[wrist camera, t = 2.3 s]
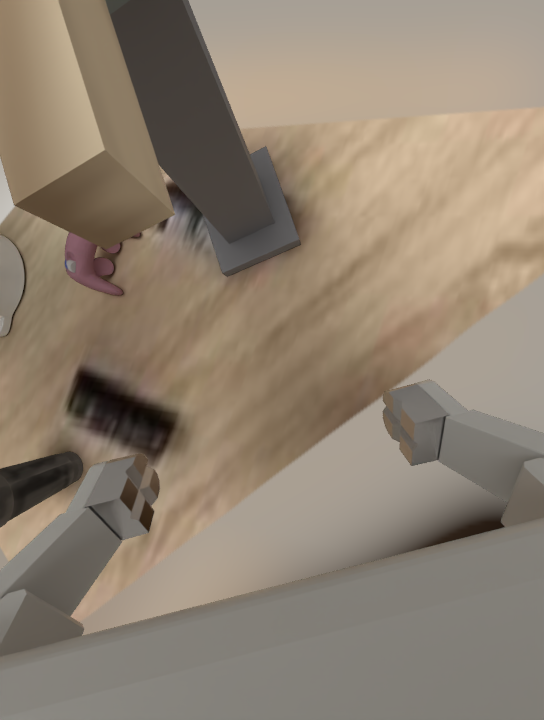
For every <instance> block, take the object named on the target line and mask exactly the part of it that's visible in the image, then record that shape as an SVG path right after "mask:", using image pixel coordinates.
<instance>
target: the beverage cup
mask: <svg viewBox="0 0 544 720" xmlns="http://www.w3.org/2000/svg"><path fill="white" fill-rule="evenodd" d="M82 472H83V465H82V461H81V459H80V458H79V456H78V455H77V454H75V453H74V452H65V453H61V454H55V455H51V456H48V457H44V458H40V459H36V460H32V461H28V462H25V463H21V464H17V465H13V466H9V467H5V468H2V469H0V527H2V526H3V525H5V524H6V523H7V522H8V521H9V520H11V519H13V518H14V517H16V516H18V515H20V514H21V513H23V512H25V511H26V510H28V509H30V508H32V507H33V506H35V505H37V504H38V503H40V502H42V501H44V500H45V499H47V498H49V497H50V496H52V495H54V494H56V493H57V492H59V491H61V490H62V489H64V488H66V487H67V486H69V485H70V484H72V483H73V482H75V481H77V480H78V479H79V478H80V477H81V475H82Z"/></svg>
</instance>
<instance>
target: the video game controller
mask: <svg viewBox="0 0 544 720" xmlns="http://www.w3.org/2000/svg"><path fill="white" fill-rule="evenodd" d="M134 236H135V237H139V236H140V233H138V234H136V235H134ZM97 246H98V245H96V244H94V243H92V242H89V241H87V240H85V239H83V238H81V237H79V236H77V235H75V234H73V233H71V232H69V234H68V237H67V241H66V246H65V267H66V271H67V274H68V275H69V276H70V277H71V278H72V279H74V280H75V281H76V282H78V283H80V284H82V285H84V286H86V287H89V288H91V289H94V290H97V291H101V292H104V293H108V294H112V295H122V294H123V291H122V290H121V289H120V288H118V287H117V286H115V285H113V284H111V283H109V282H107V281H105V280H103V279H101V278H100V276H102V275H110V274H111V273H112V272H113V270H114V267H113V264H112V262H111V261H110V260H108V259H106V258H94V256H95V252H96V248H97ZM101 248H102V247H101ZM102 249H103V250H105V251H106V252H109V253H116V252H118V251H119V249H120V243H118V244H116V245H114V246H112V247H110V248H108V249H104V248H102Z"/></svg>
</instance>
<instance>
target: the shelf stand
mask: <svg viewBox="0 0 544 720" xmlns="http://www.w3.org/2000/svg"><path fill="white" fill-rule="evenodd" d="M105 1H106V4H107V8H108V11H109V14H110V17H111V20H112V23H113V26H114V29H115V32H116V35H117V38H118V41H119V44H120V47H121V50H122V53H123V57H124V60H125V63H126V66H127V69H128V72H129V75H130V78H131V81H132V84H133V87H134V90H135V93H136V96H137V99H138V103H139V106H140V109H141V112H142V115H143V118H144V121H145V124H146V127H147V130H148V133H149V136H150V139H151V142H152V145H153V149H154V152H155V155H156V158H157V161H158V164H159V165H160V166H161V168H162V169H163V170H164V171H165V172H166V173H167V174H168V175H169V177H170V178H171V179H172V180H173V181H174V182H175V183H176V184H177V186H178V187H179V188H180V189H181V190H182V191H183V192H184V193H185V195H186V196H187V197H188V198H189V199H190V200H191V201H192V202H193V204H194V205H195V206H196V207H197V208H198V209H199V210H200V211H201V213H202V214H203V216H204V219H205V222H206V225H207V228H208V231H209V234H210V237H211V240H212V243H213V246H214V249H215V252H216V255H217V258H218V261H219V264H220V267H221V270H222V273H223V274H224V275H225V276H230V275H232V274H234V273H237V272H239V271H241V270H243V269H246V268H248V267H250V266H253V265H255V264H257V263H259V262H262V261H264V260H266V259H269V258H271V257H273V256H275V255H278V254H280V253H282V252H285V251H287V250H289V249H291V248H294V247H296V246H298V245H301V244H300V240H299V237H298V234H297V231H296V229H295V226H294V223H293V220H292V217H291V215H290V212H289V209H288V206H287V203H286V201H285V198H284V195H283V192H282V189H281V187H280V184H279V181H278V178H277V175H276V173H275V170H274V167H273V164H272V161H271V158H270V156H269V153H268V150H267V147H266V146H265V147H263V148H261V149H260V150H258V151H256V152H254V153H252V154H249V151H248V149H247V146H246V144H245V141H244V139H243V136H242V134H241V131H240V129H239V126H238V124H237V121H236V119H235V116H234V114H233V111H232V109H231V106H230V104H229V101H228V99H227V97H226V94H225V91H224V89H223V86H222V84H221V81H220V79H219V76H218V74H217V71H216V69H215V66H214V64H213V61H212V59H211V56H210V54H209V51H208V49H207V46H206V44H205V41H204V39H203V36H202V34H201V31H200V29H199V26H198V24H197V22H196V19H195V16H194V14H193V11H192V9H191V6H190V4H189V1H188V0H105Z"/></svg>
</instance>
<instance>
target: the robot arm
mask: <svg viewBox="0 0 544 720" xmlns="http://www.w3.org/2000/svg"><path fill="white" fill-rule="evenodd" d="M23 288H24V267H23V262H22V259H21V256H20V254H19V252H18V250H17V248H16V247H15V245H14V244H13V243H12V242H11V241H10V240H9V239H7V238H6V237H4V236H2V235H0V337H1V336H5V335H7V334H8V332H9V329H10V325H11V319H12V315H13V313H14V311H15V309H16V307H17V305H18V303H19V301H20V299H21V296H22V292H23ZM383 402H384V403H385V404H386V408H385V409H384V410H383V419H384V423H385V426H386V429H387V431H388V433H389V434H390V436H391V437H392V438H393V439H394V440H396V441H398V442H400V450H401V452H402V453H403V455H404V456H405V458H406V459H407V460H408V462H409V463H410V465H411V466H413V465H418V464H422V463H427V462H431V461H435V460H439V462H441V463H442V464H444V465H446V466H447V467H449V468H451V469H452V470H454V471H456V472H458V473H459V474H461V475H462V476H464V477H466V478H467V479H469V480H471V481H472V482H474V483H476V484H477V485H479V486H481V487H482V488H484V489H486V490H487V491H489V492H491V493H492V494H494V495H495V496H497V497H499V498H501V499H502V500H504V501H505V502H507V505H506V508H505V510H504V513H503V515H502V520H501V522H502V524H503V525H504V526H505V528H501V529H497V530H493V531H489V532H485V533H481V534H477V535H473V536H470V537H466V538H462V539H458V540H454V541H450V542H446V543H443V544H438V545H434V546H430V547H426V548H423V549H419V550H415V551H411V552H407V553H403V554H399V555H396V556H391V557H387V558H383V559H380V560H376V561H372V562H368V563H364V564H360V565H356V566H352V567H349V568H344V569H341V570H336V571H333V572H329V573H325V574H321V575H317V576H313V577H309V578H306V579H301V580H298V581H294V582H290V583H286V584H282V585H278V586H274V587H270V588H266V589H262V590H258V591H254V592H250V593H247V594H243V595H239V596H235V597H231V598H227V599H223V600H219V601H215V602H211V603H207V604H204V605H200V606H196V607H192V608H188V609H184V610H180V611H176V612H172V613H169V614H164V615H161V616H157V617H153V618H149V619H145V620H141V621H138V622H133V623H129V624H125V625H122V626H118V627H114V628H110V629H106V630H102V631H99V632H94V633H90V634H87V635H83V636H82V634H83V631H84V627H83V624H82V623H80V622H78V621H77V620H75V619H73V618H72V617H70V616H71V615H72V613H73V612H74V610H75V609H76V607H77V606H78V605H79V603H80V602H81V600H82V599H83V597H84V596H85V595H86V593H87V592H88V590H89V589H90V587H91V586H92V584H93V583H94V582H95V580H96V579H97V577H98V576H99V574H100V573H101V572H102V570H103V569H104V567H105V566H106V564H107V563H108V561H109V560H110V559H111V557H112V556H113V554H114V553H115V551H116V550H117V549H118V547H119V546H120V544H121V543H122V541H121V540H125V539H128V538H132V537H135V536H139V535H142V534H146V533H149V530H150V526H151V522H152V518H153V514H154V510H153V508H152V504H153V503H154V502H155V501H156V499H157V498H158V494H159V490H160V486H159V478H158V475H157V473H156V471H155V470H154V469H153V468H151V467H148V466H147V463H148V459H147V458H146V457H145V455H144V454H135V455H130V456H126V457H122V458H117V459H113V460H110V461H106V462H101V463H97V464H94V465H93V466H92V467H90V469H89V471H88V472H87V474H86V476H85V478H84V480H83V482H82V484H81V485H80V487H79V489H78V491H77V493H76V495H75V496H74V498H73V500H72V502H71V504H70V506H69V507H68V509H67V511H66V513H63V514H60V515H59V516H58V517H57V518H56V519H55V520H54V521H53V522H52V523H50V524H49V525H48V526H47V527H46V528H45V529H44V530H43V531H42V532H41V533H40V534H39V535H38V536H36V537H35V538H34V539H33V540H32V541H31V542H30V543H29V544H28V545H27V546H26V547H25V548H24V549H22V550H21V551H20V552H19V553H18V554H17V555H16V556H15V557H14V558H13V559H12V560H11V561H10V562H8V563H7V564H6V565H5V566H4V567H3V568H2V569H1V570H0V720H544V433H542V432H539V431H536V430H533V429H529V428H527V427H523V426H521V425H517V424H515V423H511V422H509V421H506V420H503V419H500V418H497V417H494V416H490V415H488V414H484V413H481V412H478V411H475V410H471V411H468V410H467V409H465V408H464V407H463V406H462V405H461V404H460V403H459V402H457V401H456V400H455V399H454V398H453V397H452V396H450V395H449V394H448V393H447V392H446V391H445V390H443V389H442V388H441V387H440V386H439V385H438V384H436V383H435V382H434V381H432V380H426V381H422V382H418V383H414V384H411V385H407V386H404V387H400V388H396V389H392V390H388V391H385V392H384V394H383Z"/></svg>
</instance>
